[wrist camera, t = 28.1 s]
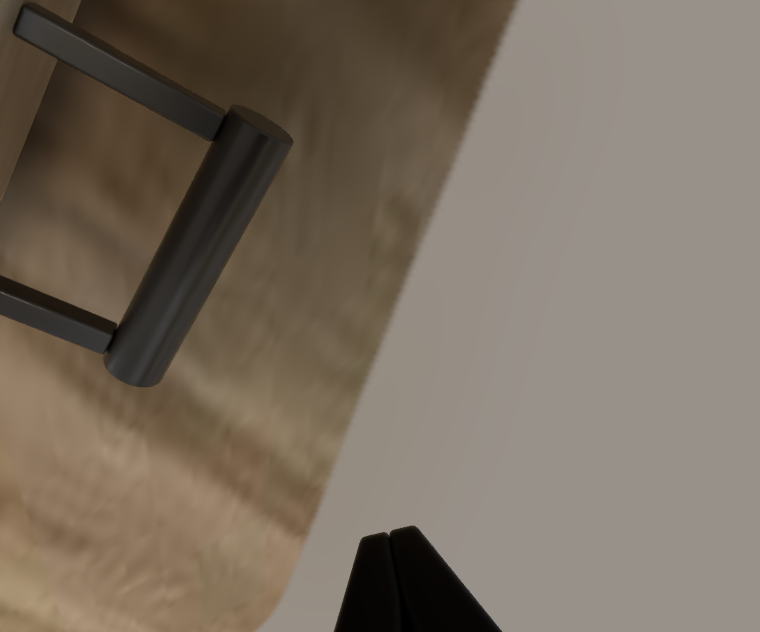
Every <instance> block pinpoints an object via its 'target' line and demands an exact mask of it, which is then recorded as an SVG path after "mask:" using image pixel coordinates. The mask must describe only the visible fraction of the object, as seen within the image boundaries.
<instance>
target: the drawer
mask: <svg viewBox="0 0 760 632" xmlns="http://www.w3.org/2000/svg"><path fill="white" fill-rule="evenodd" d="M80 3H81V0H0V204H1V201H2V199H3V196H4V194H5V191H6V189H7V186H8V183H9V181H10V178H11V176H12V173H13V171H14V168H15V166H16V163H17V161H18V158H19V156H20V153H21V151H22V148H23V146H24V143H25V141H26V138H27V136H28V133H29V131H30V128H31V126H32V123H33V121H34V118H35V116H36V113H37V111H38V108H39V106H40V103H41V101H42V98H43V96H44V93H45V91H46V88H47V86H48V83H49V81H50V78H51V75H52V73H53V70H54V68H55V65H56V63H57V60H60V61H62V62H64V63H65V64H67V65H69V66H71V67H73V68H75V69H76V70H78V71H80V72H82V73H84V74H86V75H88V76H89V77H91V78H93V79H95V80H97V81H99V82H100V83H102V84H104V85H106V86H108V87H110V88H111V89H113V90H115V91H117V92H119V93H121V94H123V95H124V96H126V97H128V98H130V99H132V100H134V101H135V102H137V103H139V104H141V105H143V106H145V107H147V108H148V109H150V110H152V111H154V112H156V113H158V114H159V115H161V116H163V117H165V118H167V119H169V120H170V121H172V122H174V123H176V124H178V125H180V126H182V127H183V128H185V129H187V130H189V131H191V132H193V133H194V134H196V135H198V136H200V137H202V138H204V139H205V140H207V141H211V142H212V143H211V145H210V147H209V149H208V151H207V153H206V155H205V157H204V159H203V161H202V163H201V165H200V167H199V169H198V171H197V173H196V175H195V177H194V179H193V181H192V183H191V185H190V187H189V189H188V190H187V192H186V194H185V196H184V198H183V200H182V202H181V204H180V206H179V208H178V210H177V212H176V214H175V216H174V218H173V220H172V222H171V224H170V226H169V228H168V230H167V232H166V234H165V236H164V238H163V240H162V242H161V243H160V245H159V247H158V249H157V251H156V253H155V255H154V257H153V259H152V261H151V263H150V265H149V267H148V269H147V271H146V273H145V275H144V277H143V279H142V281H141V283H140V285H139V287H138V289H137V291H136V293H135V294H134V296H133V298H132V300H131V302H130V304H129V306H128V308H127V310H126V312H125V314H124V316H123V318H122V320H121V322H120V324H119V326H118V328H117V323H115V322H113V321H110V320H108V319H105V318H103V317H101V316H98V315H96V314H93V313H91V312H88V311H86V310H84V309H81V308H79V307H76V306H74V305H72V304H69V303H67V302H64V301H62V300H59V299H57V298H55V297H52V296H50V295H47V294H45V293H42V292H40V291H38V290H35V289H33V288H30V287H28V286H25V285H23V284H21V283H18V282H16V281H13V280H11V279H9V278H6V277H4V276H1V275H0V315H3V316H5V317H8V318H10V319H13V320H15V321H18V322H20V323H23V324H26V325H28V326H31V327H33V328H36V329H38V330H41V331H43V332H46V333H49V334H51V335H54V336H56V337H59V338H61V339H64V340H66V341H69V342H72V343H74V344H77V345H79V346H82V347H84V348H87V349H89V350H92V351H94V352H97V353H100V354H104V356H103V361H104V365H105V367H106V369H107V370H108V371H109V372H110V373H111V374H112V375H113V376H114V377H115V378H117V379H119V380H120V381H122V382H124V383H126V384H129V385H132V386H137V387H151V386H154V385H156V384H158V383H159V382H160V381H161V380H162V378H163V376H164V374H165V373H166V371H167V369H168V367H169V365H170V364H171V362H172V360H173V358H174V356H175V355H176V353H177V351H178V349H179V348H180V346H181V344H182V342H183V340H184V339H185V337H186V335H187V333H188V331H189V330H190V328H191V326H192V324H193V322H194V321H195V319H196V317H197V315H198V313H199V312H200V310H201V308H202V306H203V305H204V303H205V301H206V299H207V297H208V296H209V294H210V292H211V290H212V288H213V287H214V285H215V283H216V281H217V279H218V278H219V276H220V274H221V272H222V271H223V269H224V267H225V265H226V263H227V262H228V260H229V258H230V256H231V254H232V253H233V251H234V249H235V247H236V245H237V244H238V242H239V240H240V238H241V236H242V235H243V233H244V231H245V229H246V228H247V226H248V224H249V222H250V220H251V219H252V217H253V215H254V213H255V211H256V210H257V208H258V206H259V204H260V202H261V201H262V199H263V197H264V195H265V194H266V192H267V190H268V188H269V186H270V185H271V183H272V181H273V179H274V177H275V176H276V174H277V172H278V170H279V168H280V167H281V165H282V163H283V161H284V160H285V158H286V156H287V154H288V152H289V151H290V149H291V147H292V145H293V139H292V138H291V137H290V135H289V134H288V133H287V132H286V131H284V130H283V129H282V128H281V127H279V126H278V125H277V124H275V123H274V122H272V121H271V120H269V119H267V118H266V117H264V116H262V115H261V114H259V113H257V112H255V111H253V110H251V109H248V108H246V107H243V106H239V105H232V106H230V108H229V110H228V112H227V114H226V112H225V110H224V109H222V108H220V107H218V106H217V105H215V104H213V103H211V102H210V101H208V100H206V99H204V98H203V97H201V96H199V95H197V94H196V93H194V92H192V91H190V90H188V89H187V88H185V87H183V86H181V85H180V84H178V83H176V82H174V81H173V80H171V79H169V78H167V77H166V76H164V75H162V74H160V73H158V72H157V71H155V70H153V69H151V68H150V67H148V66H146V65H144V64H143V63H141V62H139V61H137V60H136V59H134V58H132V57H130V56H128V55H127V54H125V53H123V52H121V51H120V50H118V49H116V48H114V47H113V46H111V45H109V44H107V43H106V42H104V41H102V40H100V39H98V38H97V37H95V36H93V35H91V34H90V33H88V32H86V31H84V30H83V29H81V28H79V27H77V26H76V25H74V24H72V23H73V20H74V18H75V15H76V13H77V10H78V8H79V5H80ZM225 115H226V116H225ZM116 329H117V330H116Z"/></svg>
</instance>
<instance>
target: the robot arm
mask: <svg viewBox="0 0 760 632" xmlns="http://www.w3.org/2000/svg"><path fill="white" fill-rule="evenodd" d="M334 632H502V631H501V630H500V628H499V627H498V626H497V625H496V624H495V622H494V621H493V620H492V619H491V617H490V616H489V615H488V614H487V612H486V611H485V610H484V609H483V607H482V606H481V605H480V604H479V603H478V601H477V600H476V599H475V598H474V596H473V595H472V594H471V593H470V591H469V590H468V589H467V588H466V587H465V586H464V584H463V583H462V582H461V580H460V579H459V578H458V577H457V575H456V574H455V573H454V572H453V571H452V569H451V568H450V567H449V566H448V564H447V563H446V562H445V561H444V560H443V558H442V557H441V556H440V555H439V554H438V552H437V551H436V550H435V548H434V547H433V546H432V545H431V543H430V542H429V541H428V540H427V539H426V537H425V536H424V535H423V534H422V533H421V531H420V530H419V529H418V528H417V527H415V526H408V527H403V528H400V529H395V530H392V531H391V532H390V537H389V535H388V534H387V533H385V532H382V533H378V534H374V535H369V536H366V537H363V538H362V539H361V541H360V543H359V547H358V550H357V554H356V557H355V561H354V564H353V568H352V571H351V574H350V578H349V581H348V585H347V588H346V592H345V595H344V599H343V602H342V606H341V609H340V612H339V616H338V619H337V623H336V626H335V630H334Z"/></svg>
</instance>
